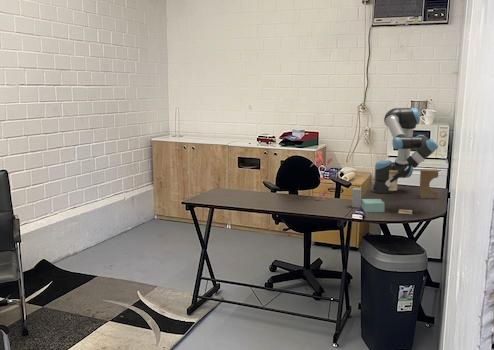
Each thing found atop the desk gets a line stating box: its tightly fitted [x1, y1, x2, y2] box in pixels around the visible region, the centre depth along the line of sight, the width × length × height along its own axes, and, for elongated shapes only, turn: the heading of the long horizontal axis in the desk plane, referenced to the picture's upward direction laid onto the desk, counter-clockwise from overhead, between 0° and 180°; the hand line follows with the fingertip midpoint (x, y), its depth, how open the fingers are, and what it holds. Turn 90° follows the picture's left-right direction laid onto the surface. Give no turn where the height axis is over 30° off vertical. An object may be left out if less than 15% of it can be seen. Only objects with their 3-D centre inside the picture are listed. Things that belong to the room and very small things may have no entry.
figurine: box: [306, 149, 333, 201], centre depth 329 cm, size 15×26×35 cm, turn 146°
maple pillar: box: [389, 170, 398, 192], centre depth 294 cm, size 5×5×12 cm
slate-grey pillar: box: [351, 187, 362, 209], centre depth 305 cm, size 5×5×12 cm
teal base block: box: [360, 198, 386, 213], centre depth 296 cm, size 12×12×6 cm
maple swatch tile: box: [397, 208, 413, 215], centre depth 289 cm, size 8×8×1 cm
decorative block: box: [418, 168, 440, 200], centre depth 324 cm, size 11×6×20 cm, turn 78°
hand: (386, 184), depth 296 cm, fingers closed on maple pillar, 5 cm apart
